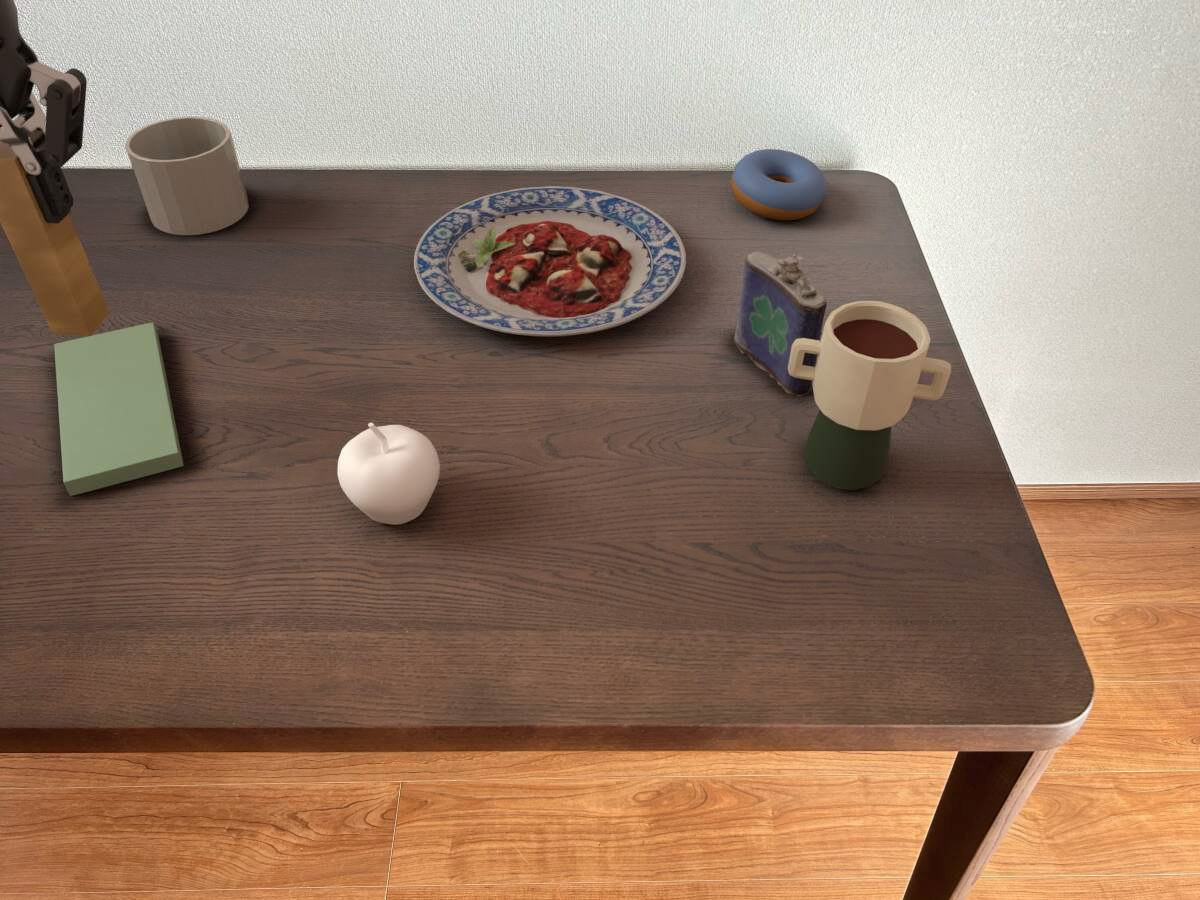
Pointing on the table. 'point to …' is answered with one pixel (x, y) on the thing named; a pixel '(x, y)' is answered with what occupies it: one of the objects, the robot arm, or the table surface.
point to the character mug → (863, 388)
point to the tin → (188, 175)
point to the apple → (389, 472)
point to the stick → (49, 255)
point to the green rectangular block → (114, 409)
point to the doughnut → (778, 184)
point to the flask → (778, 316)
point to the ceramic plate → (549, 261)
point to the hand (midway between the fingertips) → (33, 214)
